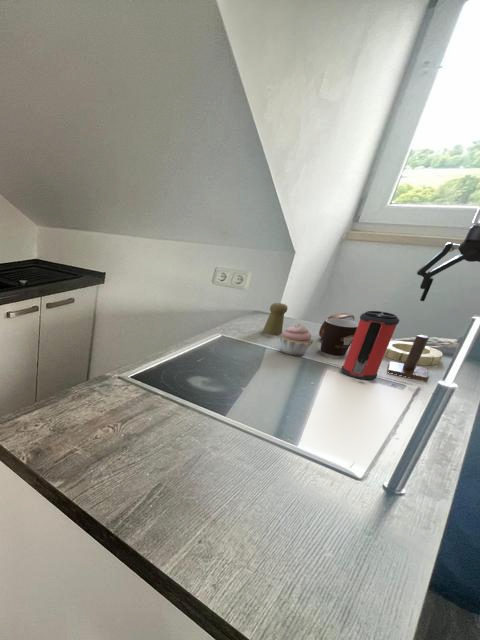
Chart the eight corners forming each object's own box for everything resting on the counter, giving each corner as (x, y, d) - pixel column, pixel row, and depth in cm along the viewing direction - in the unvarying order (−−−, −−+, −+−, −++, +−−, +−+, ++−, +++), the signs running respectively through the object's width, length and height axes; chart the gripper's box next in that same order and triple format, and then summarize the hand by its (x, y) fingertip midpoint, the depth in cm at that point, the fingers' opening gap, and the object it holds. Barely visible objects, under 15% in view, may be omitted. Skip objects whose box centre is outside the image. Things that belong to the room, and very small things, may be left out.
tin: (340, 332, 142) (348, 310, 138) (350, 335, 139) (359, 312, 136) (315, 339, 136) (322, 316, 133) (325, 342, 134) (333, 318, 130)
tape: (438, 355, 122) (441, 347, 120) (439, 369, 113) (443, 361, 112) (379, 344, 130) (382, 337, 129) (377, 356, 121) (380, 349, 120)
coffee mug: (320, 355, 124) (330, 325, 120) (312, 345, 131) (321, 317, 127) (366, 360, 120) (378, 329, 116) (355, 349, 127) (366, 320, 123)
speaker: (337, 374, 112) (359, 314, 104) (343, 366, 116) (365, 308, 109) (373, 382, 106) (398, 320, 99) (378, 374, 111) (402, 313, 103)
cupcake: (272, 345, 132) (280, 317, 128) (305, 349, 129) (314, 320, 125) (277, 355, 125) (285, 325, 121) (312, 359, 121) (322, 329, 117)
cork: (285, 335, 140) (293, 306, 136) (266, 335, 141) (274, 305, 137) (277, 330, 146) (285, 301, 141) (259, 329, 147) (266, 301, 142)
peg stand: (426, 372, 111) (443, 335, 107) (426, 381, 106) (444, 343, 101) (388, 364, 116) (403, 329, 112) (387, 373, 111) (402, 336, 107)
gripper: (425, 224, 107) (395, 299, 116) (576, 229, 91) (528, 315, 100) (424, 222, 112) (396, 294, 121) (567, 226, 96) (522, 308, 105)
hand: (455, 304), depth 110 cm, fingers open, 13 cm apart
